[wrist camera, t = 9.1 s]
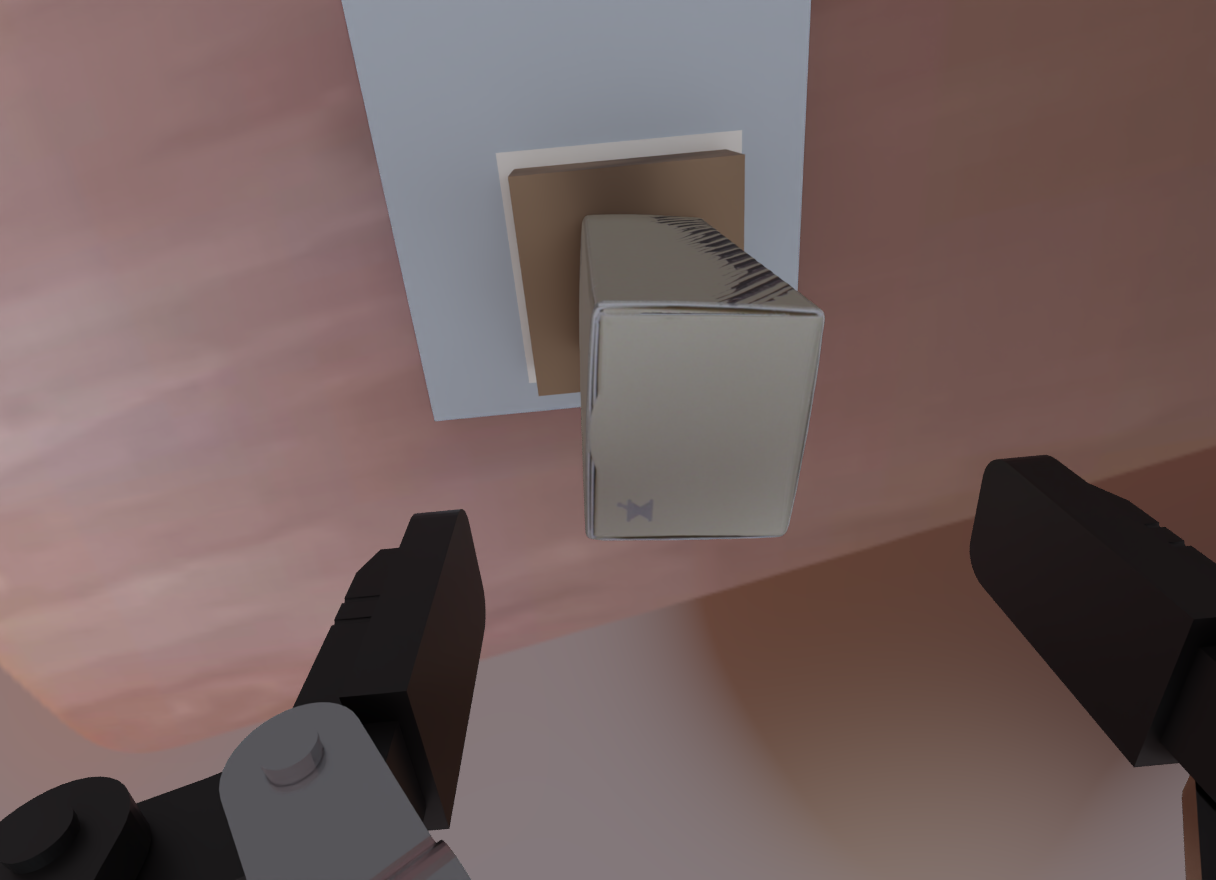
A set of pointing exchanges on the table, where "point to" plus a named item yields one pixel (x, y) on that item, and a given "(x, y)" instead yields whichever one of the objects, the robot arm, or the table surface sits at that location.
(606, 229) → the box
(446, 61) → the board
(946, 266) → the table surface
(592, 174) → the base block
